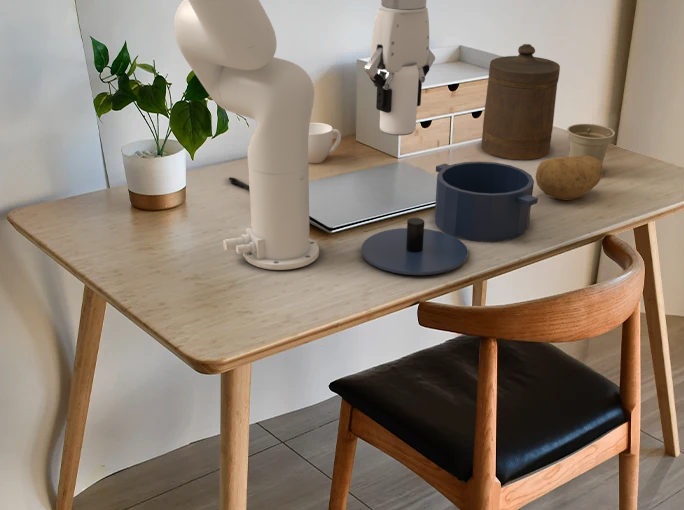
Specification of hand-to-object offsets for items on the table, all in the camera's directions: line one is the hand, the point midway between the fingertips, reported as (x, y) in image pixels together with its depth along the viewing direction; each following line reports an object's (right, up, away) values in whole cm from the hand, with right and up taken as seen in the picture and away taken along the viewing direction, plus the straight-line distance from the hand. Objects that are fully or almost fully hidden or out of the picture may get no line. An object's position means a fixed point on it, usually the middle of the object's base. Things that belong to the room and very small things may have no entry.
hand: (398, 106), depth 163 cm
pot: (+15, -20, +3) cm, 25 cm away
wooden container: (+27, +2, +39) cm, 47 cm away
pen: (-28, -12, +16) cm, 35 cm away
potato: (+33, -13, +15) cm, 39 cm away
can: (0, -4, +2) cm, 4 cm away
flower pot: (+40, -6, +27) cm, 48 cm away
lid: (+2, -27, -9) cm, 28 cm away
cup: (-15, -2, +31) cm, 35 cm away
